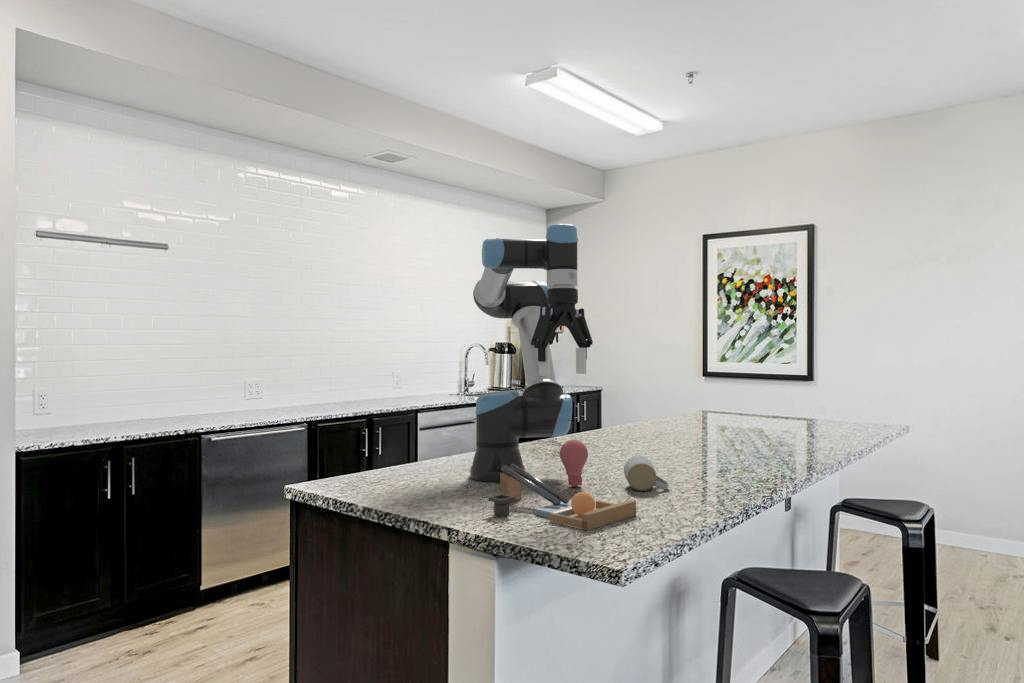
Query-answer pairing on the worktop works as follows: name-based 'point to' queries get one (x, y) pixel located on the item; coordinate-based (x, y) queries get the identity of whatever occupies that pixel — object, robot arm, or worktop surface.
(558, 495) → the ramp
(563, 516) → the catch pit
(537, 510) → the block
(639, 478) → the ceramic mug
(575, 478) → the light bulb
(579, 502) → the ball
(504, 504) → the tee
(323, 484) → the worktop surface
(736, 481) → the worktop surface
